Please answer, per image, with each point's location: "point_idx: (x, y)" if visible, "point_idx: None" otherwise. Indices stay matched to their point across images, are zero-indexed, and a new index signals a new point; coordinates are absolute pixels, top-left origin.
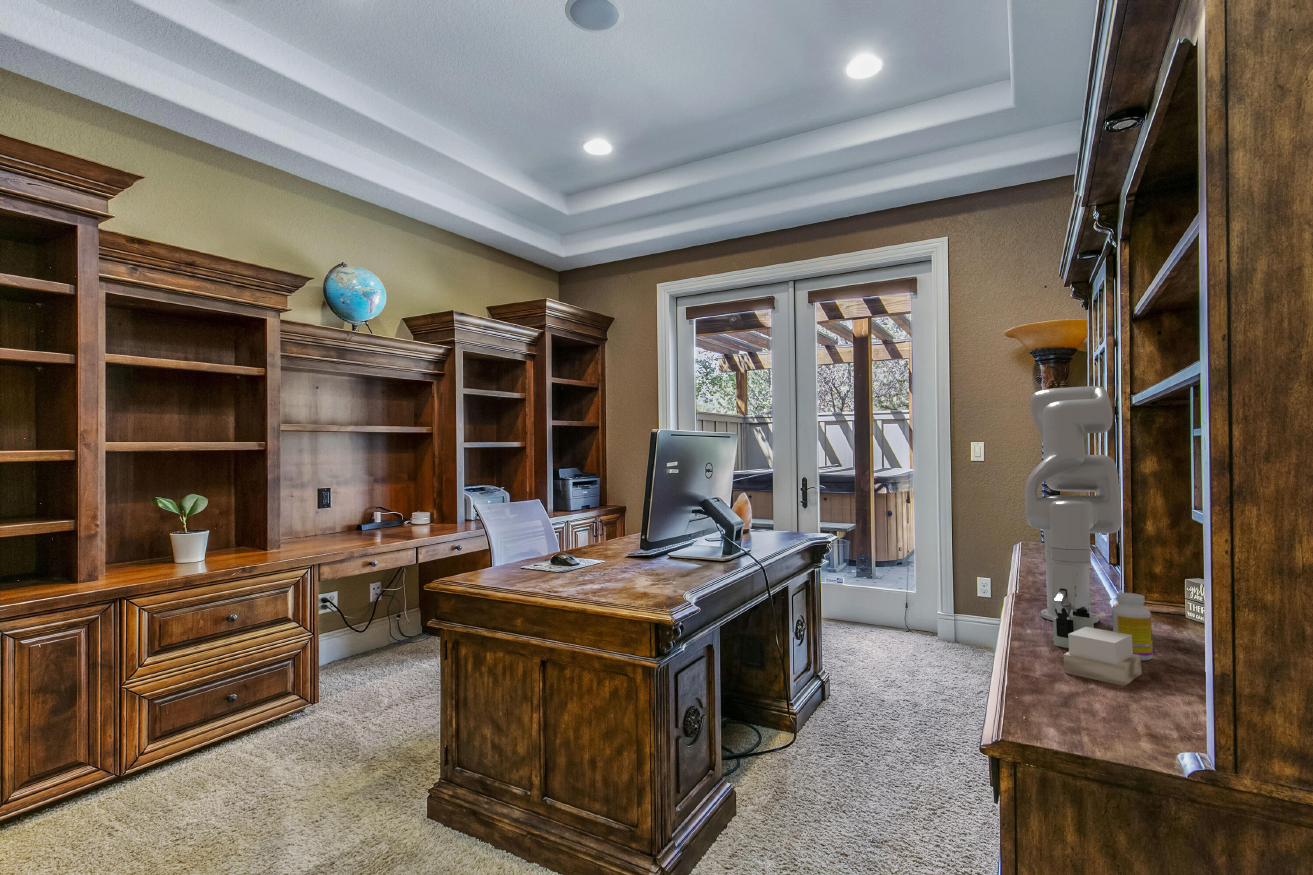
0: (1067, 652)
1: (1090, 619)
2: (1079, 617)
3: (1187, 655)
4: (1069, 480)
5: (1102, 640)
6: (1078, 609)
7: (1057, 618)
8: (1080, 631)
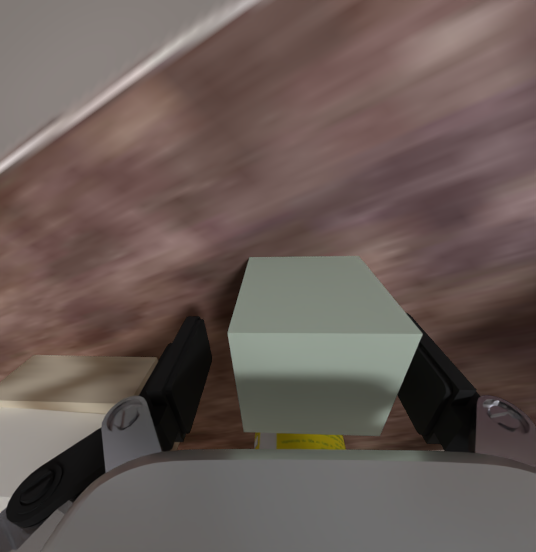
0: (6, 400)
1: (356, 432)
2: (372, 402)
3: (381, 449)
4: None
5: None
6: (459, 430)
7: (150, 392)
8: None
